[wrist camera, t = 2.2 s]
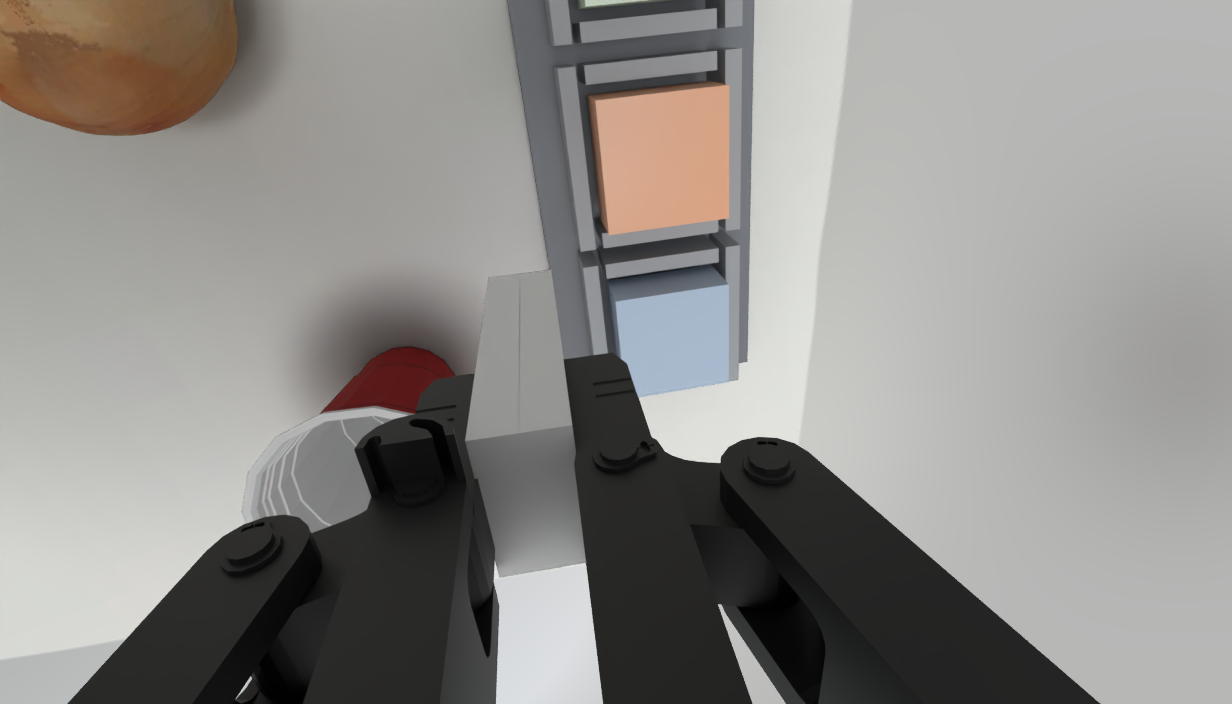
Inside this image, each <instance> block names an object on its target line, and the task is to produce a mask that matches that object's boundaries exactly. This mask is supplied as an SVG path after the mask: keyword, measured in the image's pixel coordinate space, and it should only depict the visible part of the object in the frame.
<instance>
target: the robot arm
mask: <svg viewBox="0 0 1232 704" xmlns="http://www.w3.org/2000/svg"><path fill="white" fill-rule="evenodd" d="M354 451H355V454H356V456H357V459H358V462H359V465H360V467H361V470H362V473H363V475H364V478H365V481H366V484H367V486H368V489H369V492H370V494H371V499H370V502H369V505H368V508H367V510H365V511H364V512H362V513H361V514H358V515H356V516H354V517H352V518H350V519H347V520H345V521H342V522H340V523H337V524H335V525H332V526H329V527H327V528H324V529H321V530H319V531H316V532H313V533H311V531H310V529H309V526H308V525H307V524H306V523H305V522H304V521H303V520H302V519H301V518H299V517H295V516H290V515H285V514H284V515H276V516H268V517H263V518H261V519H258V520H255V521H252V522H249V523H247V524H244V525H242V526H240V527H239V528H237V529H235V530H233V531H232V532H230V533H228V534H227V535H225V536H223V537H222V538H221V539H220V540H219V541H217V542H216V543H215V544H214V545H213V546H212V547H211V548H209V549H208V550H207V551H206V552H205V553H204V554H203V555H202V556H201V558H200V559H199V560H198V561H197V562H196V563H195V564H194V565H193V566H192V567H191V569H190V570H189V571H188V572H187V573H186V574H185V575H184V576H183V577H182V578H181V580H180V581H179V582H178V583H177V584H176V585H175V586H174V587H173V588H172V589H171V591H170V592H169V593H168V594H167V595H166V596H165V597H164V598H163V599H162V600H161V602H160V603H159V604H158V605H157V606H156V607H155V608H154V609H153V610H152V611H151V613H150V614H149V615H148V616H147V617H146V618H145V619H144V620H143V621H142V622H141V624H140V625H139V626H138V627H137V628H136V629H135V630H134V631H133V632H132V633H131V634H130V636H129V637H128V638H127V639H126V640H125V641H124V642H123V643H122V645H120V647H119V648H118V649H117V650H116V651H115V652H114V653H113V654H112V655H111V656H110V658H109V659H108V660H107V661H106V662H105V663H104V664H103V665H102V666H101V667H100V669H99V670H98V671H97V672H96V673H95V674H94V675H93V676H92V677H91V679H90V680H89V681H88V682H87V683H86V684H85V685H84V686H83V687H82V688H81V689H80V691H79V692H78V693H77V694H76V695H75V696H74V697H73V698H72V699H71V700H70V702H69V703H68V704H496V681H497V680H496V679H497V654H498V626H499V603H498V599H497V594H496V590H495V586H494V582H493V580H494V561H495V562H496V566H497V570H498V574H499V577H505V576H511V575H517V574H523V573H528V572H534V571H540V570H546V569H552V568H557V567H563V566H569V565H575V564H581V563H586V566H587V573H588V582H589V590H590V599H591V607H592V615H593V623H594V631H595V640H596V647H597V656H598V664H599V672H600V681H601V689H602V697H603V704H752V701H751V698H750V696H749V693H748V690H747V687H746V684H745V681H744V678H743V676H742V673H741V670H740V667H739V664H738V661H737V658H736V656H735V653H734V650H733V647H732V644H731V641H730V638H729V636H728V632H727V630H726V627H725V624H724V621H723V618H722V615H721V612H720V610H719V607H718V604H722V606H723V608H724V611H725V613H726V615H727V616H728V617H729V619H730V621H731V622H732V624H733V625H734V627H735V628H736V629H737V631H738V632H739V634H740V635H741V637H742V638H743V640H744V641H745V643H746V644H747V646H748V647H749V649H750V650H751V652H752V653H753V655H754V656H755V658H756V659H757V661H758V662H759V664H760V665H761V667H762V668H763V670H764V671H765V673H766V674H767V676H768V677H769V679H770V680H771V682H772V683H773V685H774V686H775V688H776V689H777V691H778V692H779V694H780V695H781V697H782V698H783V700H784V701H785V703H786V704H1100V703H1099V702H1098V701H1096V700H1095V699H1094V698H1093V697H1092V696H1091V695H1089V694H1088V693H1087V692H1086V691H1085V690H1084V689H1082V688H1081V687H1080V686H1079V685H1078V684H1077V683H1075V682H1074V681H1073V680H1072V679H1071V678H1070V677H1069V676H1067V675H1066V674H1065V673H1064V672H1063V671H1062V670H1060V669H1059V668H1058V667H1057V666H1056V665H1055V664H1054V663H1052V662H1051V661H1050V660H1049V659H1048V658H1046V657H1045V656H1044V655H1043V654H1042V653H1041V652H1040V651H1038V650H1037V649H1036V648H1035V647H1034V646H1033V645H1032V644H1030V643H1029V642H1028V641H1027V640H1025V639H1024V638H1023V637H1022V636H1021V635H1020V634H1019V633H1018V632H1016V631H1015V630H1014V629H1013V628H1012V627H1011V626H1009V625H1008V624H1007V623H1006V622H1005V621H1004V620H1003V619H1001V618H1000V617H999V616H998V615H997V614H996V613H994V612H993V611H992V610H991V609H990V608H988V607H987V606H986V605H985V604H984V603H983V602H981V600H979V599H978V598H977V597H976V596H975V595H973V594H972V593H971V592H970V591H969V590H968V589H967V588H965V587H964V586H963V585H962V584H961V583H960V582H958V581H957V580H956V579H955V578H954V577H953V576H951V575H950V574H949V573H948V572H947V571H946V570H945V569H943V568H942V567H941V566H940V565H939V564H938V563H936V562H935V561H934V560H933V559H932V558H931V557H929V556H928V555H927V554H926V553H925V552H924V551H922V550H921V549H920V548H919V547H918V546H917V545H916V544H914V543H913V542H912V541H911V540H910V539H909V538H907V537H906V536H905V535H904V534H903V533H902V532H901V531H899V530H898V529H897V528H896V527H895V526H893V525H892V524H891V523H890V522H889V521H888V520H887V519H885V518H884V517H883V516H882V515H881V514H880V513H878V512H877V511H876V510H875V509H874V508H873V507H871V506H870V505H869V504H868V503H867V502H866V501H865V500H863V499H862V498H861V497H860V496H859V495H857V494H856V493H855V492H854V491H853V490H852V489H851V488H849V487H848V486H847V485H846V484H845V483H844V482H842V481H841V480H840V479H839V478H838V477H837V476H835V475H834V474H833V473H832V472H831V471H830V470H829V469H827V468H826V467H825V466H824V465H823V464H822V463H820V462H819V461H818V460H817V459H816V458H815V457H813V456H812V455H811V454H810V453H809V452H807V451H806V450H804V449H803V448H801V447H799V446H798V445H796V444H794V443H791V442H788V441H785V440H781V439H778V438H766V437H756V438H751V439H746V440H741V441H739V442H737V443H736V444H734V445H732V446H730V447H728V449H727V450H726V451H725V453H724V454H723V455H722V456H721V463H707V462H696V461H689V460H683V459H680V458H677V457H674V456H672V455H670V454H668V453H666V452H665V451H664V450H663V448H662V447H661V445H660V444H659V443H658V441H657V440H656V439H654V438H652V437H651V434H650V431H649V428H648V425H647V422H646V419H645V416H644V413H643V410H642V407H641V404H640V401H639V398H638V395H637V392H636V389H635V386H634V383H633V380H632V377H631V374H630V371H629V368H628V365H627V363H626V362H624V361H623V360H622V359H620V358H619V357H618V356H617V355H615V354H614V353H606V354H598V355H591V356H584V357H577V358H570V359H564V357H563V350H562V343H561V336H560V329H559V322H558V315H557V308H556V300H555V293H554V286H553V279H552V272H551V270H544V271H536V272H528V273H520V274H512V275H505V276H497V277H489V278H488V284H487V291H486V298H485V305H484V312H483V319H482V326H481V333H480V340H479V347H478V354H477V361H476V368H475V374H469V375H462V376H455V377H448V378H440V379H435V380H434V381H433V382H432V383H431V384H430V385H429V386H428V387H427V388H426V389H425V390H424V391H423V392H422V393H421V395H420V398H419V401H418V405H417V408H416V414H412V415H408V416H404V417H400V418H396V419H393V420H391V421H388V422H386V423H384V424H382V425H380V426H377V427H376V428H374V429H373V430H372V431H370V432H369V433H368V434H366V435H365V436H364V437H362V439H361V440H360V441H359V443H358V444H357V446H356V447H355V448H354ZM250 676H251V677H252V680H251V682H250V683H249V685H248V686H247V688H246V689H245V690H244V691H243V692H242V693H241V694H240V695H239V697H238V698H237V699H236V697H237V696H238V694H239V693H240V691H241V689H242V688H243V687H244V685H245V683H246V682H247V681H248V679H249V677H250Z"/></svg>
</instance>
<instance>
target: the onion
mask: <svg viewBox="0 0 1232 704" xmlns="http://www.w3.org/2000/svg"><path fill="white" fill-rule="evenodd" d="M237 48H238V28H237V21H236V14H235V8H234V2H233V0H0V100H1V101H3V102H4V103H6V104H8V105H9V106H11V107H13V108H15V109H17V110H18V111H21V112H23V113H26V114H28V115H31V116H33V117H36V118H39V119H42V120H44V121H48V122H51V123H55V124H57V125H60V126H63V127H67V128H70V129H73V130H77V131H80V132H84V133H89V134H96V135H111V136H124V135H139V134H146V133H151V132H156V131H160V130H163V129H167V128H169V127H172V126H174V125H176V124H179V123H181V122H183V121H185V120H187V119H188V118H190V117H191V116H193V115H194V114H195V113H197V112H198V111H199V110H200V109H202V108H203V107H204V106H205V105H206V104H207V103H208V102H209V101H210V100H211V99H212V98H213V96H214V95H215V94H216V92H217V91H218V90H219V88H220V87H221V85H222V84H223V83H224V81H225V80H226V78H227V77H228V75H229V74H230V72H231V71H232V69H233V67H234V64H235V60H236V55H237Z"/></svg>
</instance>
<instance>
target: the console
mask: <svg viewBox="0 0 1232 704" xmlns="http://www.w3.org/2000/svg"><path fill="white" fill-rule="evenodd" d="M507 1H508V7H509V13H510V20H511V26H512V33H513V39H514V45H515V52H516V58H517V65H518V71H519V77H520V84H521V90H522V96H523V103H524V109H525V116H526V122H527V128H528V135H529V141H530V148H531V154H532V160H533V167H534V173H535V180H536V186H537V192H538V199H539V205H540V211H541V218H542V224H543V231H544V237H545V243H546V250H547V256H548V263H549V269H550V270H551V272H552V279H553V286H554V293H555V300H556V308H557V315H558V322H559V329H560V336H561V343H562V350H563V357H564V359H570V358H577V357H584V356H591V355H598V354H606V353H614V343H613V334H612V325H611V315H610V306H609V297H608V287H607V280H614V279H621V278H627V277H634V276H641V275H647V274H654V273H661V272H668V271H674V270H681V269H688V268H694V267H701V266H708V265H712V266H713V267H714V268H715V270H716V271H717V272H718V273H719V274H720V275H721V276H722V277H723V278H724V279H725V281H726V282H727V283H728V284H729V381H734V380H738V371H739V363H743V362H747V350H748V298H749V247H750V196H751V144H752V93H753V42H754V0H672V1H662V2H652V3H642V4H633V5H623V6H613V7H603V8H593V9H583V10H578V7H577V0H507ZM702 81H713V82H718V83H723V84H728V85H729V218H728V219H721V220H713V221H706V222H699V223H692V224H685V225H678V226H671V227H664V228H657V229H650V230H643V231H636V232H628V233H621V234H614V235H609V234H608V232H607V230H606V229H605V227H604V225H603V223H602V221H601V219H600V211H599V202H598V193H597V183H596V174H595V164H594V155H593V146H592V136H591V127H590V118H589V108H588V99H587V95H591V94H599V93H608V92H616V91H625V90H633V89H642V88H651V87H659V86H668V85H676V84H685V83H694V82H702ZM614 354H615V353H614Z"/></svg>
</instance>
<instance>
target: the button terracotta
mask: <svg viewBox="0 0 1232 704" xmlns="http://www.w3.org/2000/svg"><path fill="white" fill-rule="evenodd" d="M587 99H588V108H589V118H590V127H591V136H592V146H593V155H594V164H595V174H596V183H597V193H598V202H599V211H600V219H601V221H602V223H603V225H604V227H605V229H606V230H607V232H608V234H609V235H614V234H621V233H628V232H636V231H643V230H650V229H657V228H664V227H671V226H678V225H685V224H692V223H699V222H706V221H713V220H721V219H728V218H729V85H728V84H723V83H718V82H713V81H702V82H694V83H685V84H676V85H668V86H659V87H651V88H642V89H633V90H625V91H616V92H608V93H599V94H591V95H587Z"/></svg>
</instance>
